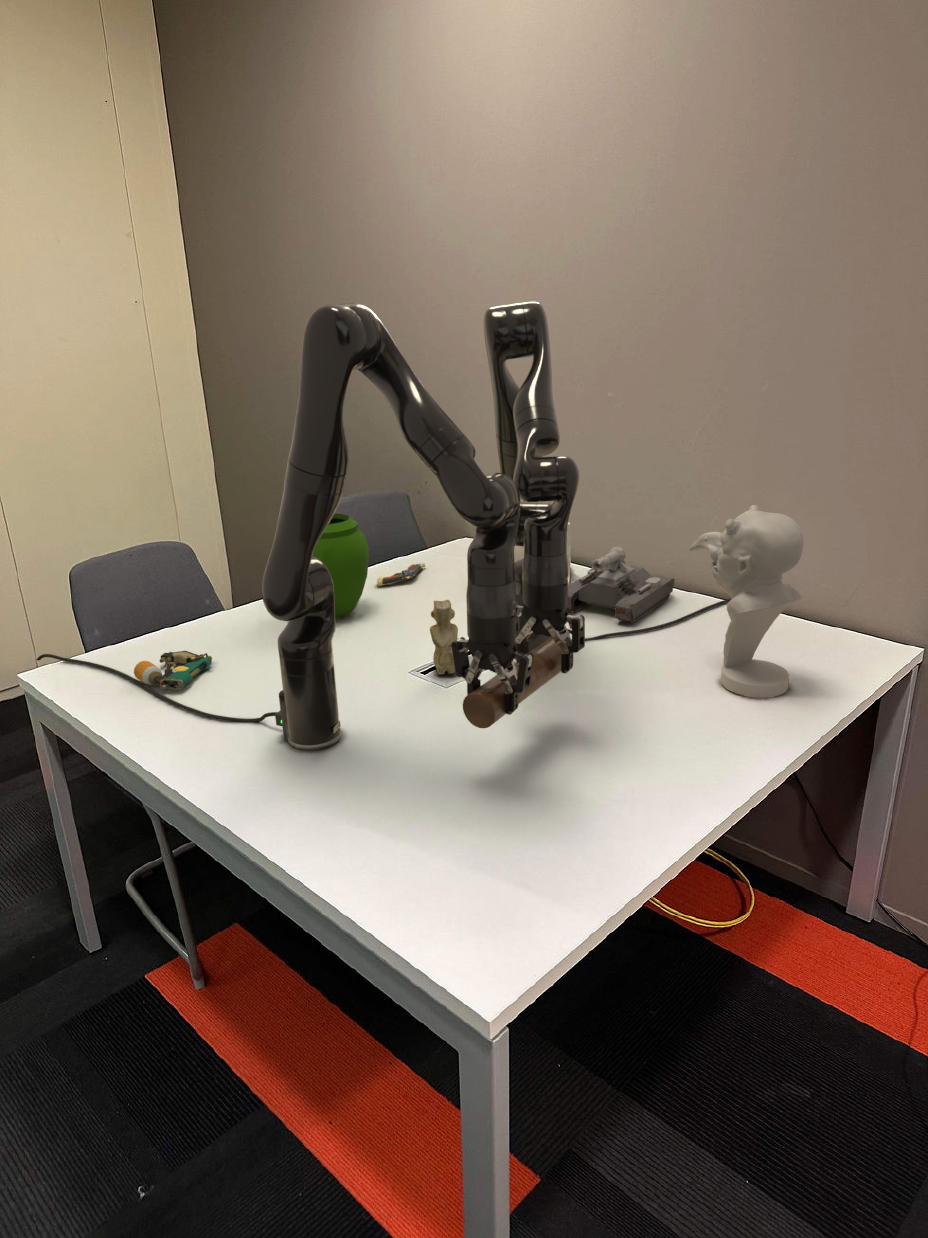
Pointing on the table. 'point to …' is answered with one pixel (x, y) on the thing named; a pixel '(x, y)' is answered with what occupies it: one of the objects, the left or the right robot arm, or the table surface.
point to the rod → (490, 696)
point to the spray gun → (172, 669)
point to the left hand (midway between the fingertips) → (492, 707)
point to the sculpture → (443, 636)
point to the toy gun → (401, 575)
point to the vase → (344, 561)
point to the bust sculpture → (753, 593)
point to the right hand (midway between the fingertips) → (544, 666)
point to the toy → (619, 588)
